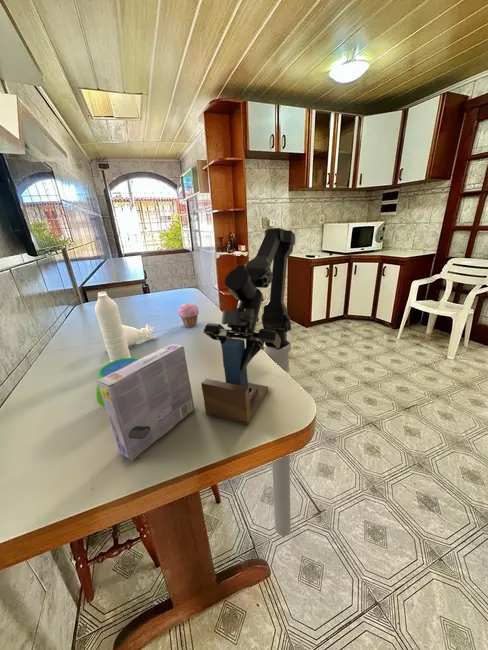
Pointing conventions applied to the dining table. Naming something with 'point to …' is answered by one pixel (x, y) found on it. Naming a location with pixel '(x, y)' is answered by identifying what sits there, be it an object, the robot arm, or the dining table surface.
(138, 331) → the rocket engine
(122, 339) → the water bottle
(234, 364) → the back pad
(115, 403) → the cake pan box
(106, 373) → the snack cup
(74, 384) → the dining table surface
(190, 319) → the cupcake
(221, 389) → the pad seat
